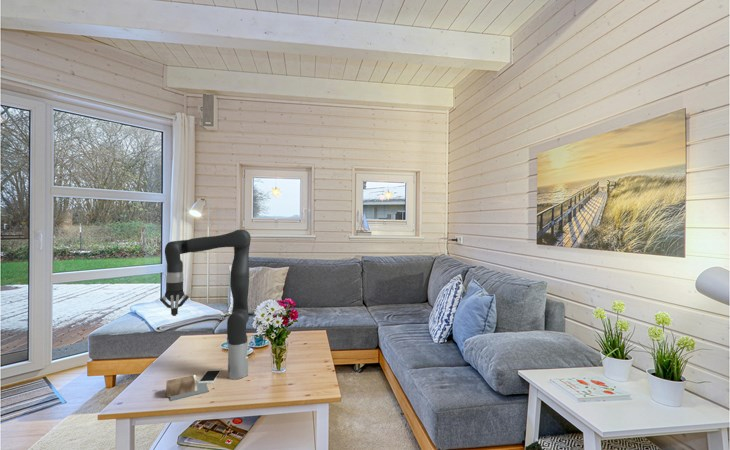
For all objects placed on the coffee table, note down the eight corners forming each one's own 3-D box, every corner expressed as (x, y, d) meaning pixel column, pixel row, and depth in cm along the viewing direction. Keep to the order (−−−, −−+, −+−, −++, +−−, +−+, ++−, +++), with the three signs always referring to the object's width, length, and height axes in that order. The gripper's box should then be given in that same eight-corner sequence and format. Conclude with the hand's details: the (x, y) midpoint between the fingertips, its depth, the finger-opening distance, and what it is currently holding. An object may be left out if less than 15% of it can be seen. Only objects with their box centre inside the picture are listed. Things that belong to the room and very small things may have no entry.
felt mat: (204, 380, 166) (204, 379, 166) (208, 391, 155) (208, 390, 155) (168, 388, 158) (168, 387, 158) (170, 401, 147) (170, 400, 147)
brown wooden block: (166, 391, 154) (195, 385, 161) (167, 397, 149) (197, 390, 156) (166, 380, 154) (195, 374, 161) (167, 386, 149) (197, 379, 156)
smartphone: (197, 384, 163) (197, 382, 163) (208, 371, 178) (208, 369, 178) (212, 384, 164) (212, 382, 164) (222, 370, 179) (222, 369, 179)
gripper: (188, 278, 174) (188, 312, 174) (159, 280, 167) (158, 315, 167) (190, 281, 168) (190, 315, 168) (159, 283, 160) (159, 319, 160)
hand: (174, 315), depth 167 cm, fingers closed
